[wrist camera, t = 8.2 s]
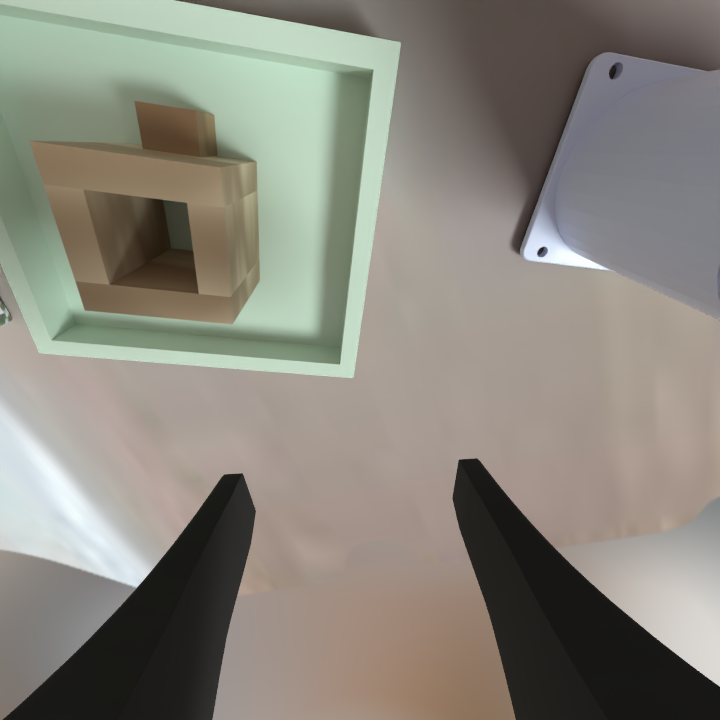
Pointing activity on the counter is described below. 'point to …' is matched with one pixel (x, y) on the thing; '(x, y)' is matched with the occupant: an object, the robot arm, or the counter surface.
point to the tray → (234, 140)
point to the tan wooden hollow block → (156, 218)
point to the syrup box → (4, 314)
